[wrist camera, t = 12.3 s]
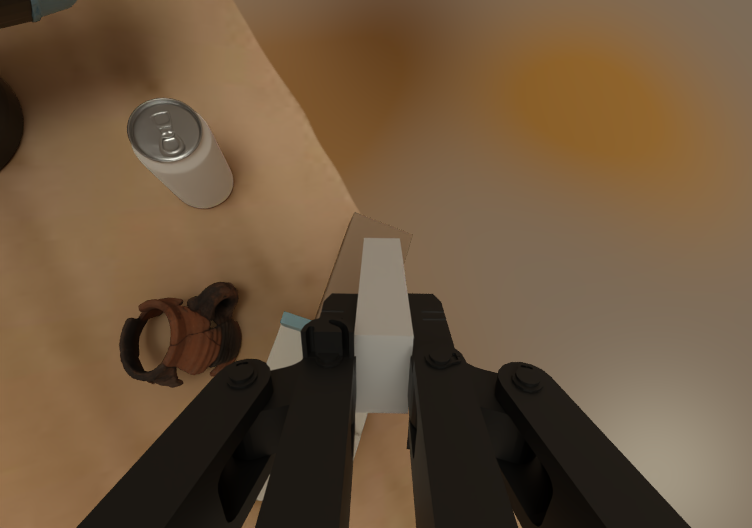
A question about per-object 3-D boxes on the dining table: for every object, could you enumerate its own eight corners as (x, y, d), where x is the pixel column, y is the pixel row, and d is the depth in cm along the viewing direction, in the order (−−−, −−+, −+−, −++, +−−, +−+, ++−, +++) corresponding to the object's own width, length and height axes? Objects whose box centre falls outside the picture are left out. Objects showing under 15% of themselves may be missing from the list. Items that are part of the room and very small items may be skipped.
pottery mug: (215, 399, 38) (144, 414, 31) (169, 344, 42) (95, 345, 34) (279, 309, 38) (223, 301, 30) (226, 261, 42) (165, 243, 34)
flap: (407, 364, 26) (440, 243, 28) (280, 322, 24) (327, 199, 27) (384, 359, 32) (413, 261, 35) (282, 326, 31) (320, 226, 34)
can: (184, 217, 40) (136, 177, 28) (165, 164, 40) (109, 103, 28) (242, 199, 41) (219, 154, 30) (223, 149, 42) (192, 84, 30)
